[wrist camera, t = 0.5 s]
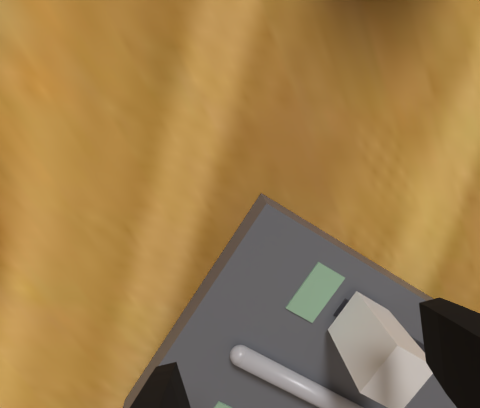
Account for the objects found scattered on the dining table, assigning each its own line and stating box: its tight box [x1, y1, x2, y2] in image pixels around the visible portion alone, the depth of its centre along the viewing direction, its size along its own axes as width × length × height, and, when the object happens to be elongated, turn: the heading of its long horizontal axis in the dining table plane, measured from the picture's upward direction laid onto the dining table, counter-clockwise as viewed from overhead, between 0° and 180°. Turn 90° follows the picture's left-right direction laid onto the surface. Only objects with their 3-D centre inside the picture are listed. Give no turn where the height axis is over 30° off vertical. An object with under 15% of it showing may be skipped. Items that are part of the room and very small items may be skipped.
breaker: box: [328, 291, 433, 408], centre depth 18 cm, size 2×2×4 cm
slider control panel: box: [123, 193, 457, 408], centre depth 22 cm, size 20×14×3 cm
